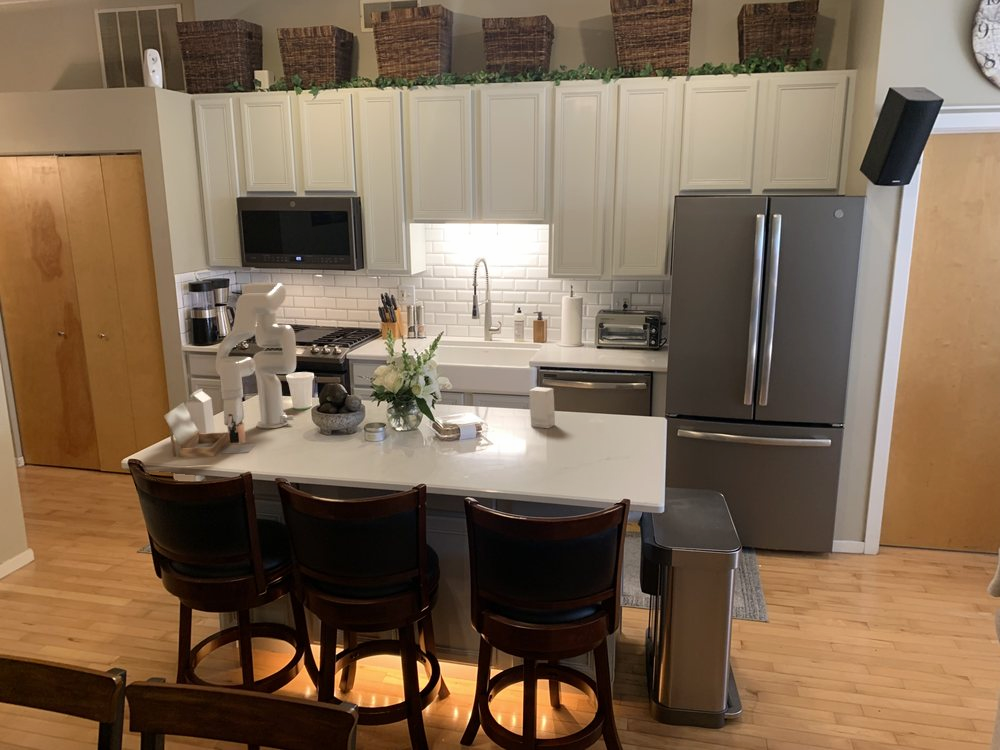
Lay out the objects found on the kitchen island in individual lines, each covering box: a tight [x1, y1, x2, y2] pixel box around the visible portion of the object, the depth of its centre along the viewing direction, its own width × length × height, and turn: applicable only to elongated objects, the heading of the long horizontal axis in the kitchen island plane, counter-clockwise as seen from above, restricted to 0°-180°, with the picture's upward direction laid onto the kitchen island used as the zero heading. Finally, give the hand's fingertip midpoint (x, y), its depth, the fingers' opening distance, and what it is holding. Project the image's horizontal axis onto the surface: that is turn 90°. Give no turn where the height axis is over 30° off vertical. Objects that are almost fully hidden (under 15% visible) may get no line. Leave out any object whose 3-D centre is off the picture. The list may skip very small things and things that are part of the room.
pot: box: [226, 422, 247, 445], centre depth 284 cm, size 6×6×7 cm
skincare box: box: [528, 386, 556, 429], centre depth 306 cm, size 8×7×16 cm
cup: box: [285, 371, 315, 411], centre depth 345 cm, size 12×12×15 cm
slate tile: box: [220, 443, 256, 455], centre depth 285 cm, size 10×10×1 cm
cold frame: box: [163, 402, 229, 458], centre depth 286 cm, size 16×20×16 cm
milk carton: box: [185, 388, 216, 433], centre depth 303 cm, size 7×7×19 cm
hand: (237, 439), depth 285 cm, fingers closed on pot, 6 cm apart
